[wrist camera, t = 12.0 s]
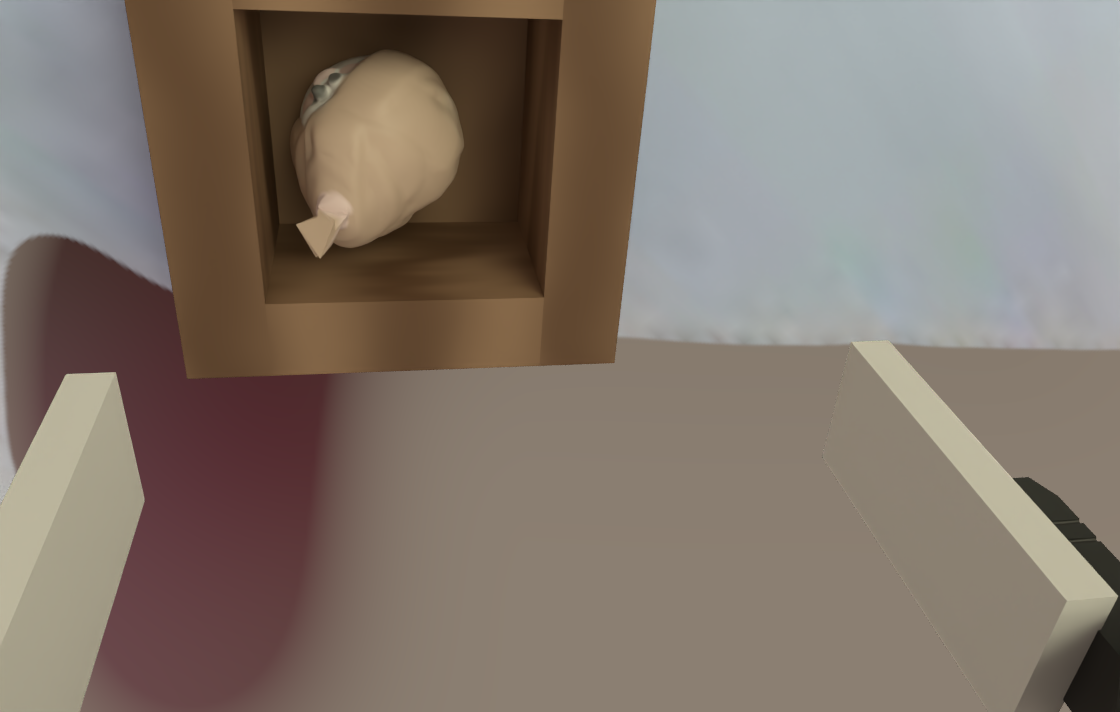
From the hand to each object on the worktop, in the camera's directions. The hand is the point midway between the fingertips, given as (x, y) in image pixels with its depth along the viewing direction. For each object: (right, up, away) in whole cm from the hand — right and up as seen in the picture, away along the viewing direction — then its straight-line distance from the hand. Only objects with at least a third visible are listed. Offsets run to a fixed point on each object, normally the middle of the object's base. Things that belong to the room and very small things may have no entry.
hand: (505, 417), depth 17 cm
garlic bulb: (-6, +11, +20) cm, 24 cm away
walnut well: (-6, +12, +21) cm, 25 cm away
